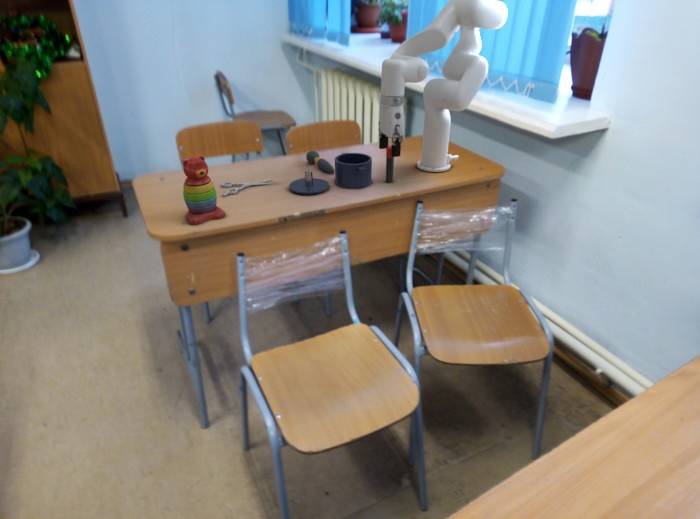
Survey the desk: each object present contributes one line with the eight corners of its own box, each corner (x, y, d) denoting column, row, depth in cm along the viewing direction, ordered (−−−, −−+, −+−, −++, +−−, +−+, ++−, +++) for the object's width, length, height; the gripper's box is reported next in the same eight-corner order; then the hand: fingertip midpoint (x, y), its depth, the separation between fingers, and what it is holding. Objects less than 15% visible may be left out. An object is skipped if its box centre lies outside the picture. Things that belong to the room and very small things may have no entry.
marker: (391, 179, 170) (392, 145, 164) (394, 182, 168) (396, 148, 161) (384, 180, 169) (385, 146, 163) (387, 183, 167) (388, 149, 161)
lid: (322, 179, 171) (321, 162, 168) (334, 192, 160) (334, 174, 157) (285, 184, 167) (283, 166, 164) (295, 198, 156) (293, 180, 153)
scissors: (216, 183, 165) (272, 174, 172) (216, 185, 165) (272, 176, 173) (223, 194, 157) (281, 184, 164) (223, 196, 157) (281, 186, 164)
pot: (360, 171, 177) (360, 149, 173) (380, 188, 163) (380, 164, 158) (328, 175, 173) (327, 153, 169) (345, 193, 159) (344, 169, 155)
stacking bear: (192, 226, 138) (180, 166, 129) (180, 214, 145) (169, 157, 136) (227, 217, 143) (219, 159, 134) (214, 205, 151) (206, 150, 142)
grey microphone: (341, 172, 176) (341, 159, 174) (330, 175, 174) (330, 162, 171) (311, 159, 190) (311, 147, 187) (301, 162, 187) (300, 149, 185)
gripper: (414, 105, 148) (410, 158, 157) (391, 94, 163) (388, 144, 171) (392, 106, 146) (389, 161, 155) (371, 96, 160) (369, 146, 169)
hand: (389, 152), depth 163 cm, fingers open, 9 cm apart
